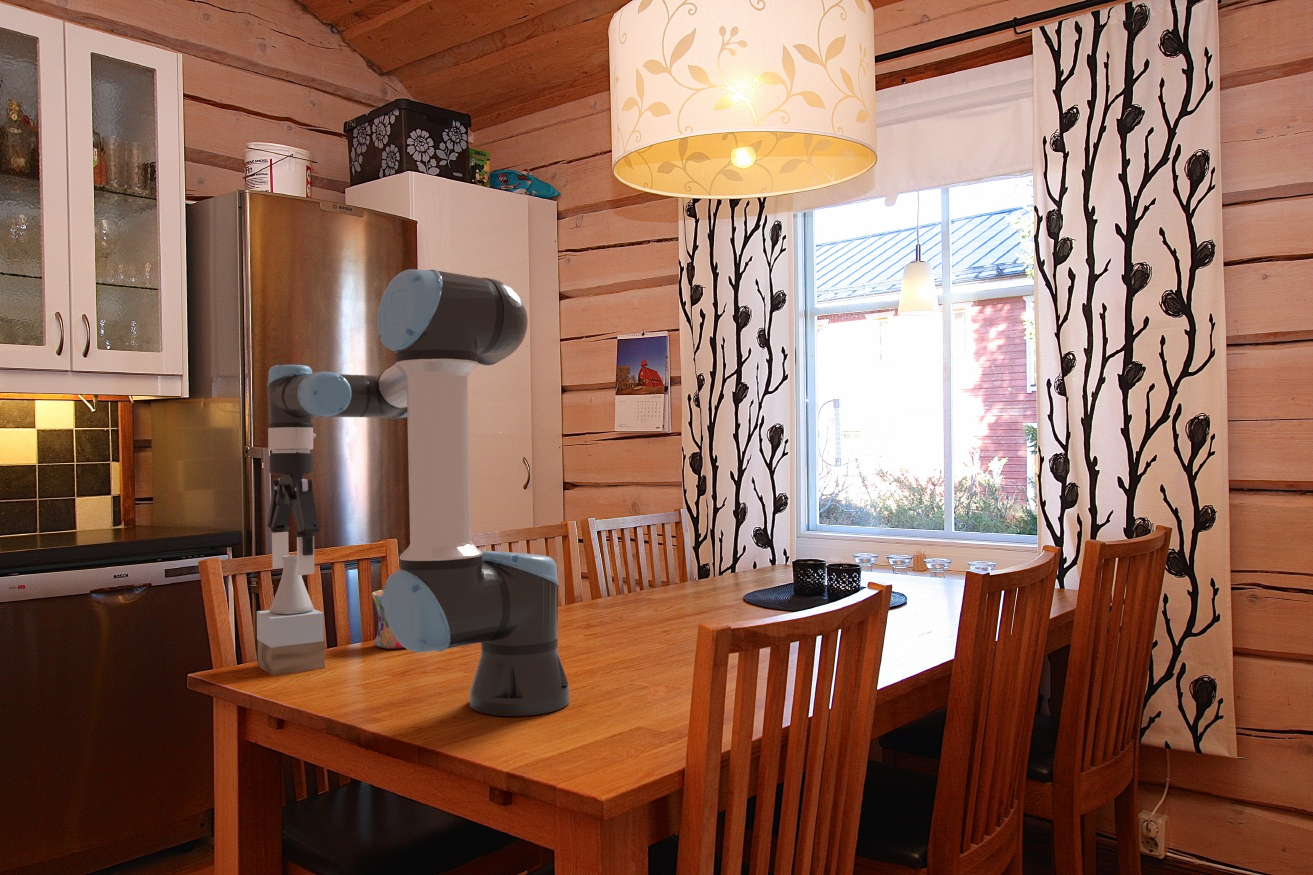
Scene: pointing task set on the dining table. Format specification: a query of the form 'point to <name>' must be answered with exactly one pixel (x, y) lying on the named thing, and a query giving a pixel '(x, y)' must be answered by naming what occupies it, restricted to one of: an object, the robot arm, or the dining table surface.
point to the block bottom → (291, 658)
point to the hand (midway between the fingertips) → (292, 571)
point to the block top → (290, 628)
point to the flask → (291, 590)
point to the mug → (384, 625)
